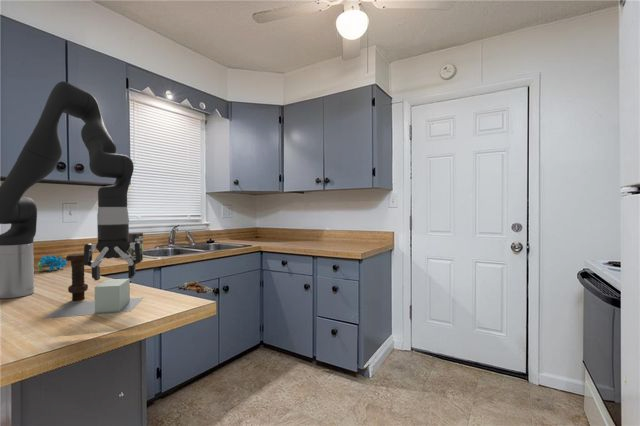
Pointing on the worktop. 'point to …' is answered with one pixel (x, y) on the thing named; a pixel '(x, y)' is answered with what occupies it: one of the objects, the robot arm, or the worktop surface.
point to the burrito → (195, 287)
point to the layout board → (88, 308)
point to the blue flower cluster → (51, 262)
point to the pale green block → (112, 295)
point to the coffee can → (134, 239)
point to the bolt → (77, 277)
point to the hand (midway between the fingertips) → (114, 278)
